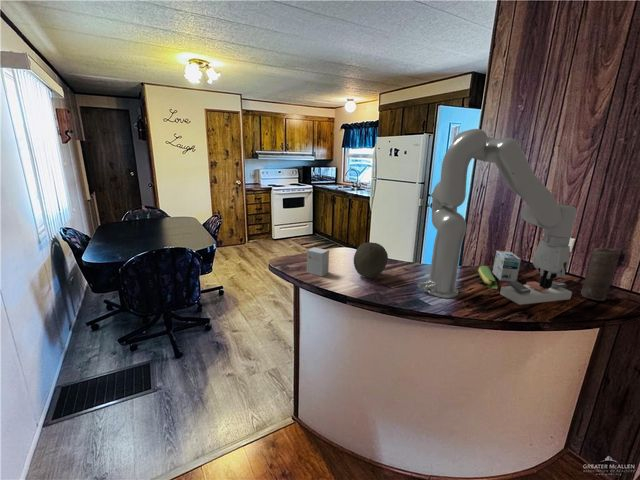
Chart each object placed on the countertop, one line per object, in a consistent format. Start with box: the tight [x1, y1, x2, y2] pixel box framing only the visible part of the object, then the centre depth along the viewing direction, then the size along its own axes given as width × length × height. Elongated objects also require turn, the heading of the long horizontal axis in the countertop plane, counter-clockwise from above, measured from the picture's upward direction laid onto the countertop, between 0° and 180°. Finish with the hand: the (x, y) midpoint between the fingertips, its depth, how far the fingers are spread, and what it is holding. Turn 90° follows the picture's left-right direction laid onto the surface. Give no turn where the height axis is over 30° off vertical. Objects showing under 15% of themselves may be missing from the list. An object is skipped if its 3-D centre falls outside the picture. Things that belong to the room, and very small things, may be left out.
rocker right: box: [552, 280, 568, 288], centre depth 120 cm, size 4×6×1 cm, turn 14°
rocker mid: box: [525, 281, 549, 290], centre depth 117 cm, size 4×6×1 cm, turn 14°
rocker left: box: [508, 281, 531, 294], centre depth 115 cm, size 4×6×1 cm, turn 14°
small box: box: [306, 247, 330, 277], centre depth 134 cm, size 8×6×10 cm
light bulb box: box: [492, 250, 522, 283], centre depth 136 cm, size 11×7×11 cm, turn 168°
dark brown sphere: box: [353, 241, 389, 280], centre depth 131 cm, size 14×14×15 cm
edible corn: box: [476, 265, 498, 290], centre depth 131 cm, size 5×20×5 cm
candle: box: [580, 247, 621, 301], centre depth 116 cm, size 8×7×20 cm
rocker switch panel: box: [499, 284, 573, 306], centre depth 118 cm, size 24×9×4 cm, turn 104°
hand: (544, 287), depth 115 cm, fingers closed
